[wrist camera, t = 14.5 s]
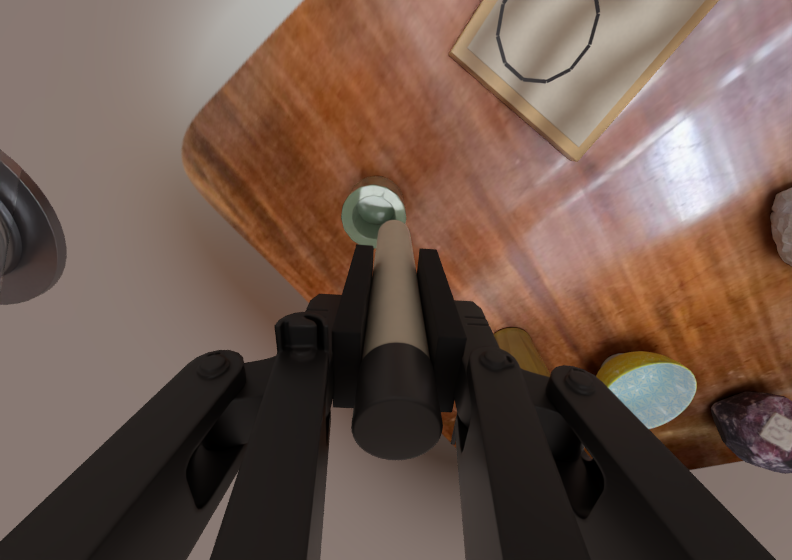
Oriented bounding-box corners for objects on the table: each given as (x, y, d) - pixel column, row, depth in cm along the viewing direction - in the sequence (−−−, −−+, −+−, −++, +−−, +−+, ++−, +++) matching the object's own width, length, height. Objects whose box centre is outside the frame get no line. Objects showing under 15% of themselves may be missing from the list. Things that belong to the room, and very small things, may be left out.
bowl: (623, 317, 42) (658, 347, 36) (677, 356, 45) (717, 390, 39) (557, 373, 46) (580, 408, 40) (611, 406, 49) (639, 442, 43)
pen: (370, 237, 21) (334, 440, 8) (389, 210, 20) (383, 383, 7) (398, 254, 21) (408, 472, 8) (417, 228, 20) (461, 422, 7)
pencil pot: (338, 211, 36) (329, 226, 31) (367, 164, 33) (363, 171, 28) (384, 240, 37) (382, 259, 32) (415, 197, 35) (418, 209, 30)
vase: (534, 326, 42) (596, 415, 30) (527, 363, 45) (579, 459, 32) (488, 326, 42) (529, 416, 30) (483, 363, 45) (518, 460, 32)
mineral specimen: (802, 377, 44) (877, 459, 38) (743, 404, 52) (797, 476, 46) (730, 383, 44) (793, 466, 38) (683, 409, 52) (728, 482, 46)
